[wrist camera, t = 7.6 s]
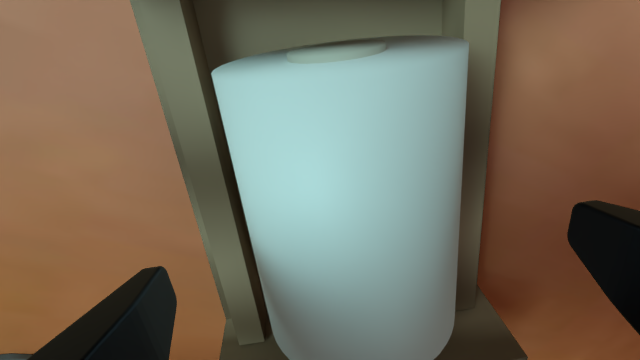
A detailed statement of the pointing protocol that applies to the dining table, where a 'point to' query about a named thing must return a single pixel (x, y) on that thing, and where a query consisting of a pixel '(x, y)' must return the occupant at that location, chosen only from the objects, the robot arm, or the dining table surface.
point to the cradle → (215, 160)
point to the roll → (352, 190)
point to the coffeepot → (14, 356)
